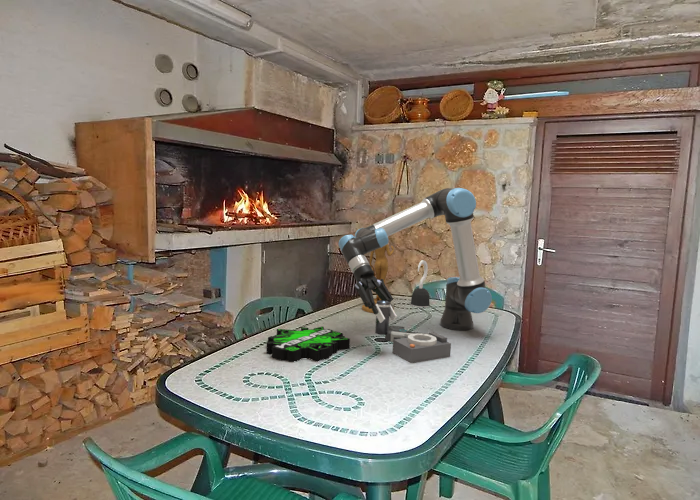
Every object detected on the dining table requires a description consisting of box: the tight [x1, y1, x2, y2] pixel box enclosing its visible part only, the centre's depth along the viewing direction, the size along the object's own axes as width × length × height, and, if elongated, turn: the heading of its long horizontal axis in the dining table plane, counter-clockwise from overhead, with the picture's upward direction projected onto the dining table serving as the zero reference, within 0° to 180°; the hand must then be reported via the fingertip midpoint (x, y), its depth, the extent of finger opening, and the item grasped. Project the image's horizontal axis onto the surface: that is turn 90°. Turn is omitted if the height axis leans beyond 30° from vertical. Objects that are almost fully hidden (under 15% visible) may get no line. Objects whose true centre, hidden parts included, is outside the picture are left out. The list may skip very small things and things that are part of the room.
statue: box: [361, 243, 395, 314], centre depth 242 cm, size 17×17×41 cm
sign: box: [265, 326, 351, 363], centre depth 180 cm, size 33×4×30 cm
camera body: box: [392, 331, 452, 364], centre depth 177 cm, size 18×12×7 cm, turn 118°
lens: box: [374, 300, 390, 336], centre depth 176 cm, size 5×5×12 cm
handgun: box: [384, 325, 430, 343], centre depth 196 cm, size 4×22×15 cm
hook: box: [410, 259, 430, 308], centre depth 257 cm, size 11×11×25 cm
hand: (388, 319), depth 174 cm, fingers closed on lens, 5 cm apart
